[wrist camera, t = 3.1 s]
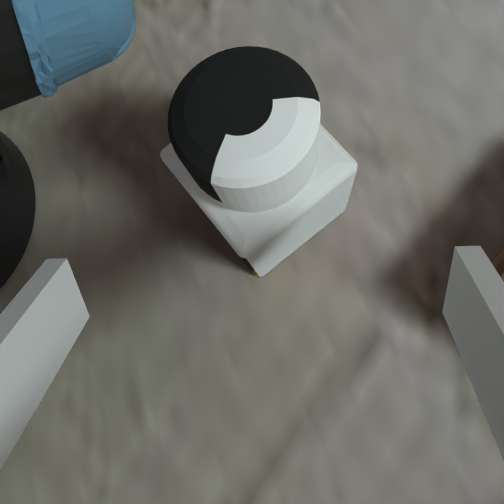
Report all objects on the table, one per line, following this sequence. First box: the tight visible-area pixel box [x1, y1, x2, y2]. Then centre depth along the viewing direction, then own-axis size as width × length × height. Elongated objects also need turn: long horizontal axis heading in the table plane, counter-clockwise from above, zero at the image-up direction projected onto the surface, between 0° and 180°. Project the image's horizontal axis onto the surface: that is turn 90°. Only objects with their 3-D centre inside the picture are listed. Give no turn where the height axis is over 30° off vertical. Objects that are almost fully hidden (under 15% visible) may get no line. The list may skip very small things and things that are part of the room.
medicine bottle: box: [160, 46, 357, 277], centre depth 22 cm, size 7×7×12 cm
